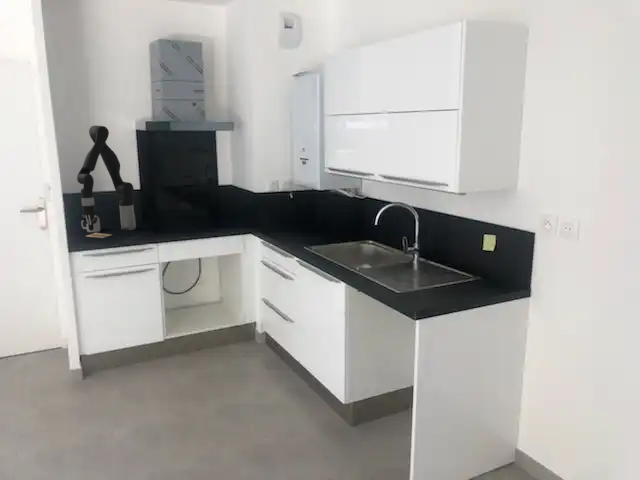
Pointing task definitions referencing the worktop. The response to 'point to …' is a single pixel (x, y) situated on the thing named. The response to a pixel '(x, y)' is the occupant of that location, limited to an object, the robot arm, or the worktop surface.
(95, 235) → the plank
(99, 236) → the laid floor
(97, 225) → the mug
